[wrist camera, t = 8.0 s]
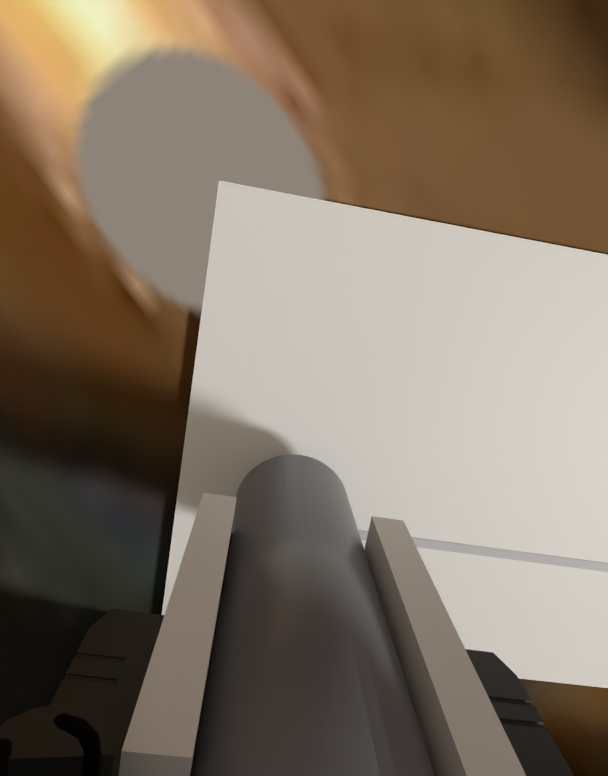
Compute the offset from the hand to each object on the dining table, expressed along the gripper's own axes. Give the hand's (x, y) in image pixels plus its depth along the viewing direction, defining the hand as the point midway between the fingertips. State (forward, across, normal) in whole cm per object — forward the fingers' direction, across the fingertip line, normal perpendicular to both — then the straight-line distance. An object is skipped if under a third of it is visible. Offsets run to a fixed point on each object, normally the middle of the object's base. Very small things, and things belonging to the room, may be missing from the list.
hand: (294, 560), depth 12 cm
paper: (+4, +7, +1) cm, 8 cm away
